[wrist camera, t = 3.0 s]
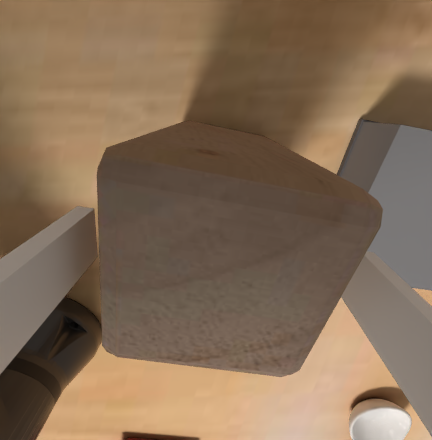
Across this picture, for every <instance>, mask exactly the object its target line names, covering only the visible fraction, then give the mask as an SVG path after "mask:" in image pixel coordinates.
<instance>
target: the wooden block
mask: <svg viewBox="0 0 432 440" xmlns="http://www.w3.org/2000/svg"><path fill="white" fill-rule="evenodd" d="M97 194H98V226H99V258H100V290H101V322H102V346H103V347H104V348H105V350H106V351H107V352H109V353H111V354H113V355H115V356H117V357H121V358H129V359H137V360H146V361H154V362H162V363H170V364H178V365H187V366H195V367H203V368H211V369H219V370H228V371H236V372H244V373H252V374H260V375H269V376H277V377H283V376H287V375H291V374H293V373H295V372H297V371H299V370H300V368H301V367H302V365H303V363H304V361H305V359H306V358H307V356H308V354H309V352H310V351H311V349H312V347H313V345H314V344H315V342H316V340H317V338H318V337H319V335H320V333H321V331H322V329H323V328H324V326H325V324H326V322H327V321H328V319H329V317H330V315H331V314H332V312H333V310H334V308H335V307H336V305H337V303H338V301H339V299H340V298H341V296H342V294H343V292H344V291H345V289H346V287H347V285H348V284H349V282H350V280H351V278H352V276H353V275H354V273H355V271H356V269H357V268H358V266H359V264H360V262H361V261H362V259H363V257H364V255H365V254H366V252H367V250H368V248H369V246H370V245H371V243H372V241H373V239H374V238H375V236H376V234H377V232H378V231H379V229H380V227H381V221H382V213H383V208H382V207H381V205H380V203H379V202H378V200H377V199H375V198H374V197H373V196H371V195H370V194H369V193H368V192H366V191H365V190H364V189H362V188H360V187H358V186H357V185H355V184H353V183H351V182H349V181H347V180H345V179H343V178H342V177H340V176H338V175H336V174H334V173H332V172H330V171H328V170H327V169H325V168H323V167H321V166H319V165H317V164H315V163H314V162H312V161H310V160H308V159H306V158H304V157H302V156H300V155H299V154H297V153H295V152H293V151H291V150H289V149H287V148H285V147H284V146H282V145H280V144H278V143H276V142H274V141H272V140H270V139H269V138H267V137H265V136H261V135H256V134H251V133H246V132H241V131H237V130H232V129H227V128H222V127H217V126H213V125H208V124H203V123H198V122H194V121H185V122H181V123H178V124H175V125H173V126H170V127H167V128H164V129H161V130H158V131H155V132H152V133H149V134H146V135H143V136H140V137H137V138H134V139H131V140H128V141H125V142H122V143H119V144H116V145H113V146H110V147H107V148H106V150H105V152H104V154H103V157H102V159H101V162H100V164H99V166H98V170H97Z"/></svg>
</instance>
